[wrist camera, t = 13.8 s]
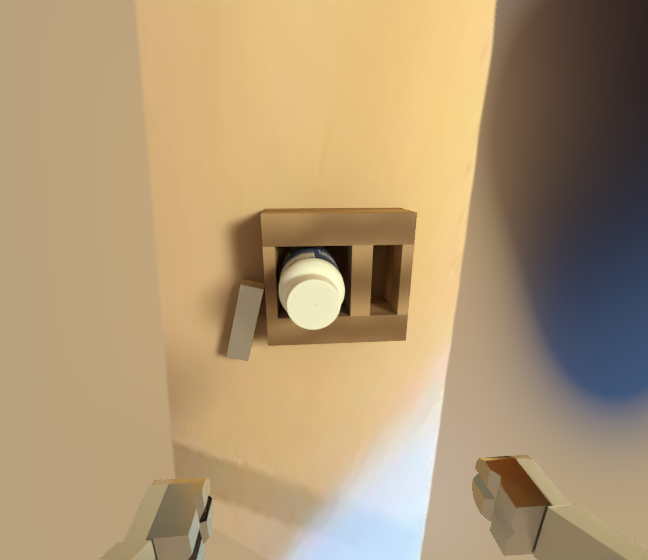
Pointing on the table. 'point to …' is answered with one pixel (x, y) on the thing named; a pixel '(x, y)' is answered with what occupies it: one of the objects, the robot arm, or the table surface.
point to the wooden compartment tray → (358, 238)
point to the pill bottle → (311, 287)
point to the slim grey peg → (245, 319)
